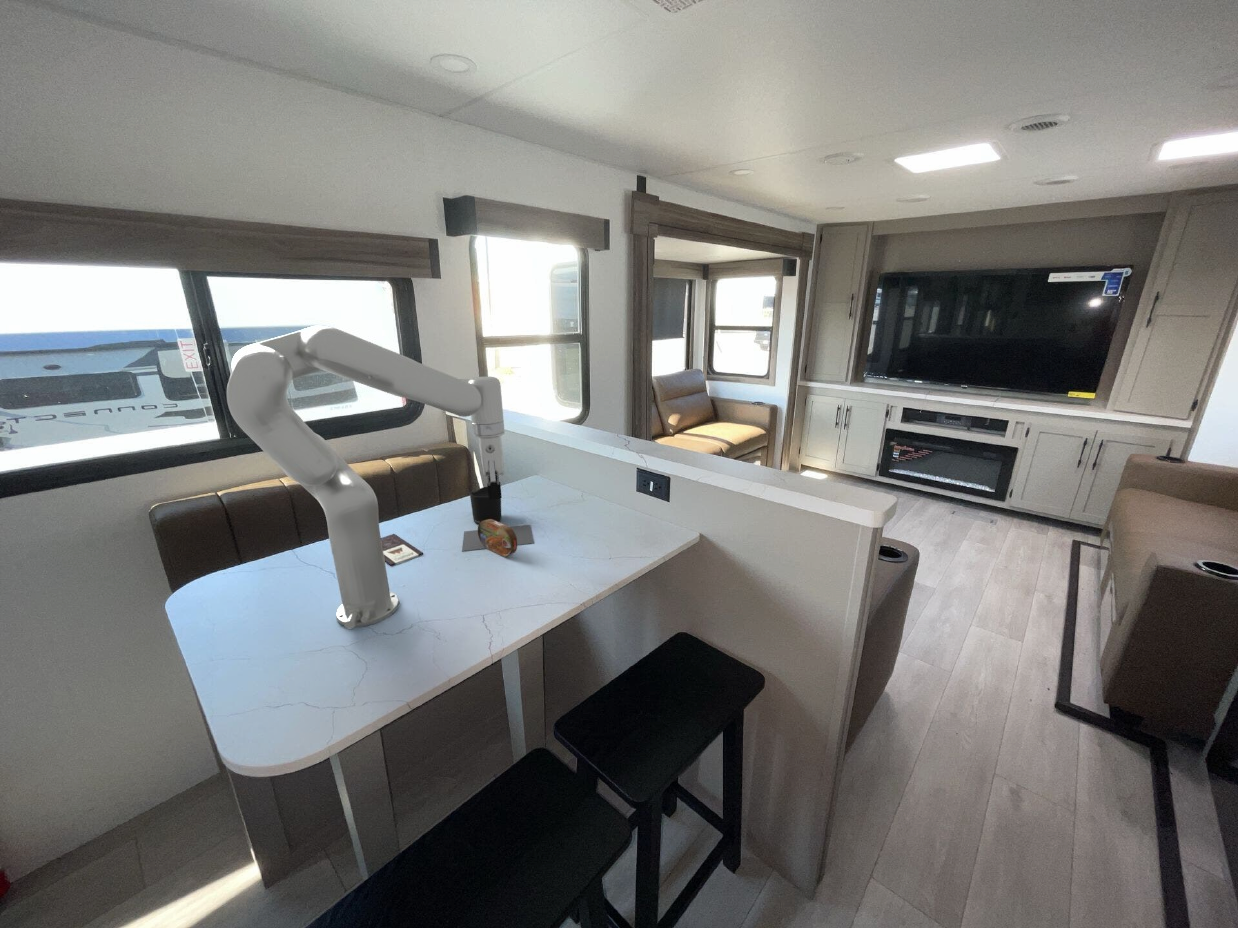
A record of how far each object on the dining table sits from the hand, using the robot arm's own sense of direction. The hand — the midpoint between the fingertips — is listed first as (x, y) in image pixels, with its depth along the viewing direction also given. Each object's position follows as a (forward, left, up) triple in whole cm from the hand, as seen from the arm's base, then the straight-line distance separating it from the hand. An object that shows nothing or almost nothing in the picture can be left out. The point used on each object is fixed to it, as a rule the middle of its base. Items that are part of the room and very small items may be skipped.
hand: (495, 497), depth 123 cm
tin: (+8, 0, -19) cm, 21 cm away
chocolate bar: (+16, +29, -20) cm, 39 cm away
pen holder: (+30, +3, -19) cm, 36 cm away
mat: (+16, 0, -19) cm, 25 cm away
